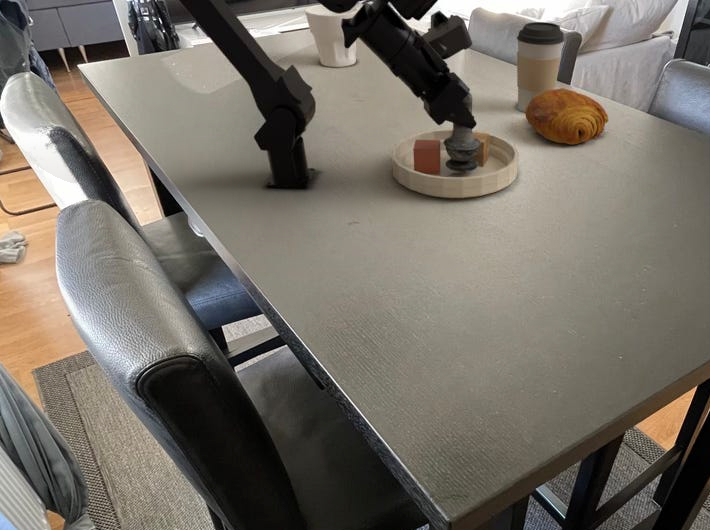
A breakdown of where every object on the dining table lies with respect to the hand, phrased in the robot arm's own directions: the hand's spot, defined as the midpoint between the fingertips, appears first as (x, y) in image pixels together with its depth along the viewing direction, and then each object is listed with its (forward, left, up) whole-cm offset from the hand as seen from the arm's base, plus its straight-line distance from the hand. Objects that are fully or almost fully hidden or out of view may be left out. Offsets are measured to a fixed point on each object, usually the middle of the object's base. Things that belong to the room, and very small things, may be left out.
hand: (470, 122), depth 90 cm
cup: (+63, +33, -8) cm, 72 cm away
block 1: (0, +7, -8) cm, 10 cm away
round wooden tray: (0, +2, -8) cm, 9 cm away
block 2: (+4, -1, -8) cm, 9 cm away
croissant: (+20, -18, -8) cm, 28 cm away
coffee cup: (+33, -13, -8) cm, 37 cm away
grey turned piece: (0, +1, -7) cm, 7 cm away
